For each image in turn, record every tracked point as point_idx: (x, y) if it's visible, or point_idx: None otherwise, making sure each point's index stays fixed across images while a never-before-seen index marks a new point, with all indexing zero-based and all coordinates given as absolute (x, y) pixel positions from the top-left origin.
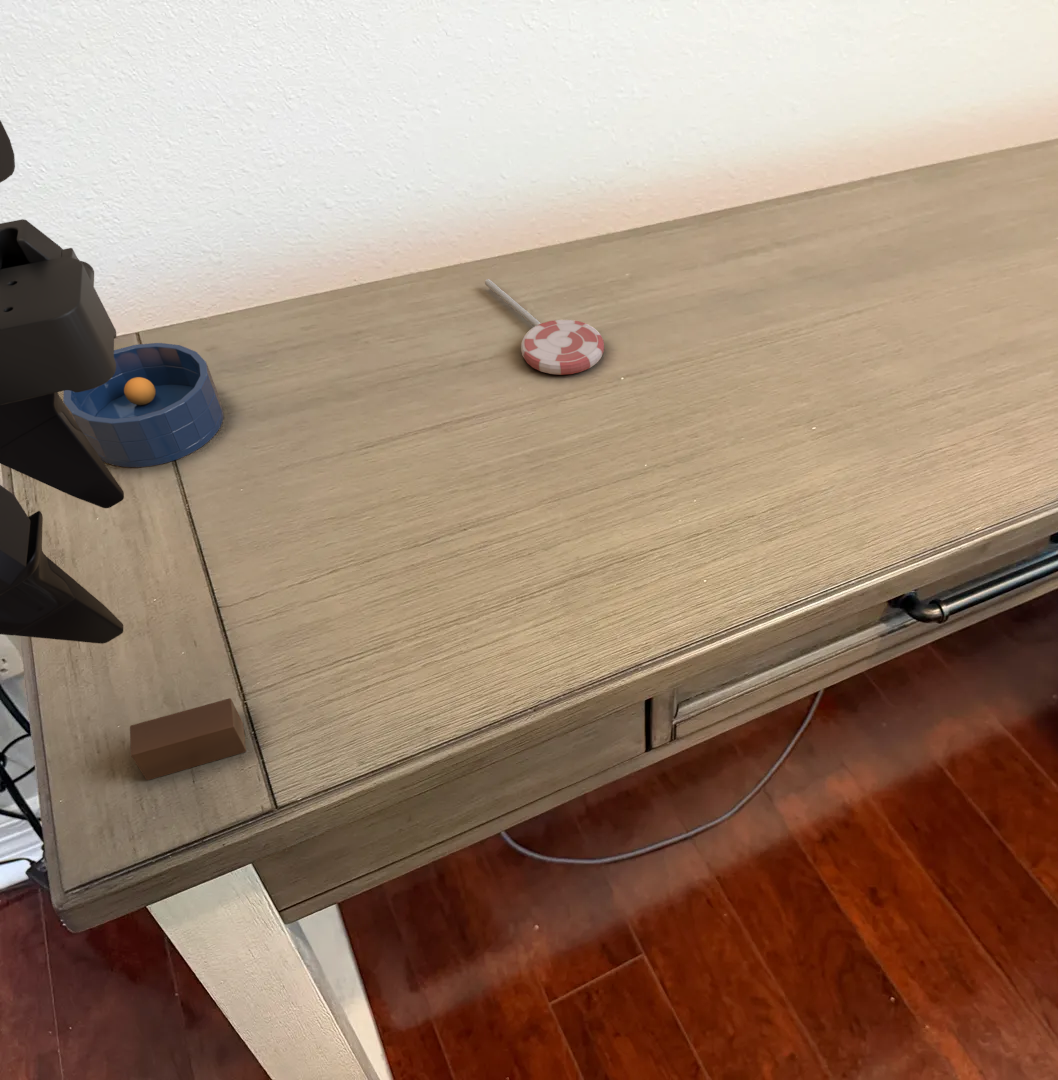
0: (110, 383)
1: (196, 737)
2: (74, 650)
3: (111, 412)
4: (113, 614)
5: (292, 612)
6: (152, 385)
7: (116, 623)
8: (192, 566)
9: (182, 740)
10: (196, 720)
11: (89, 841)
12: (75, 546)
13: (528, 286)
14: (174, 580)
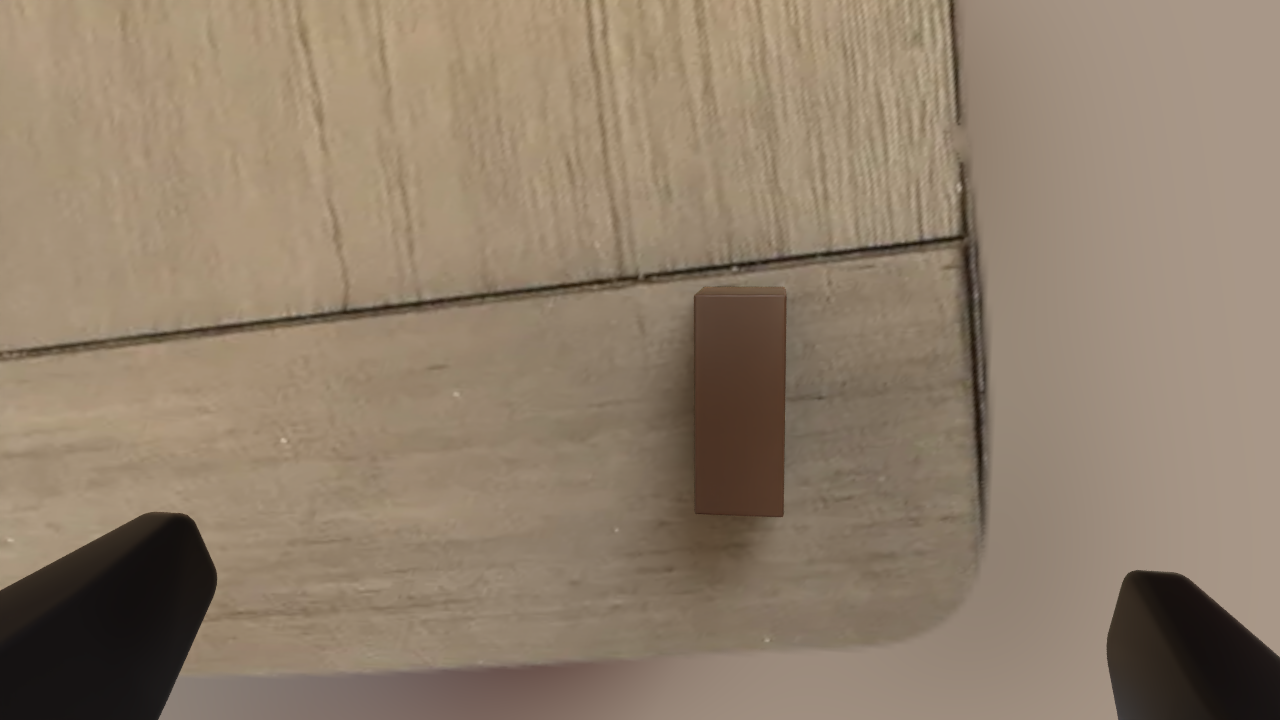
0: None
1: (783, 378)
2: (381, 601)
3: None
4: (1174, 625)
5: (408, 149)
6: None
7: (1218, 611)
8: (203, 357)
9: (781, 408)
10: (736, 374)
11: (888, 596)
12: None
13: None
14: (236, 397)
